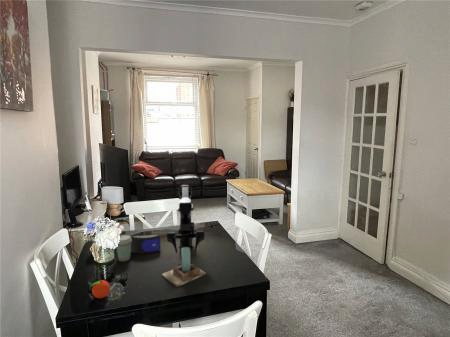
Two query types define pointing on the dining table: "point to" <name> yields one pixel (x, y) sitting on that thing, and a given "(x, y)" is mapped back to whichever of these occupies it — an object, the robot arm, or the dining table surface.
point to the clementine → (100, 289)
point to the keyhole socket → (183, 275)
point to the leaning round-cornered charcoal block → (145, 244)
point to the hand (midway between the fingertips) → (186, 252)
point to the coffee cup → (124, 248)
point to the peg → (185, 259)
